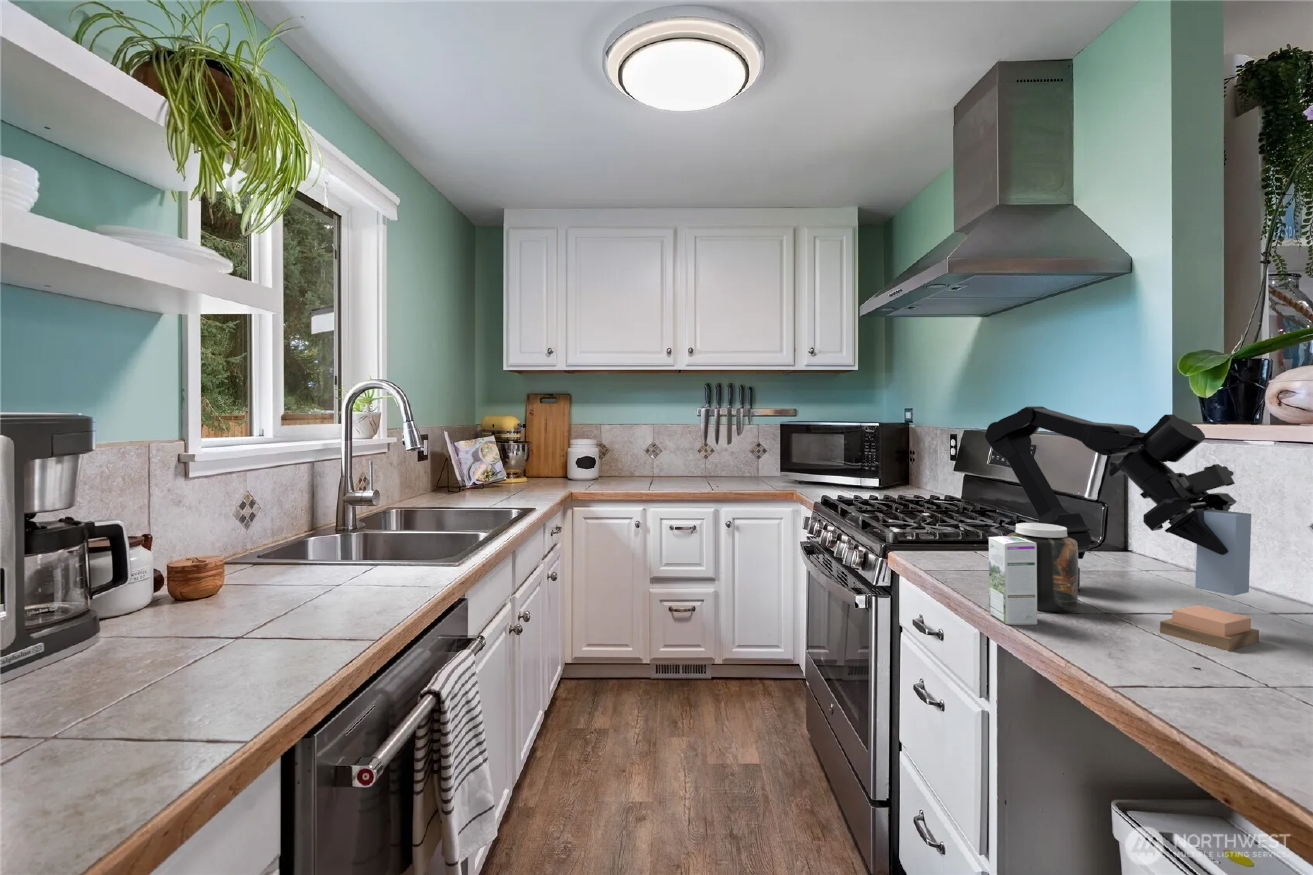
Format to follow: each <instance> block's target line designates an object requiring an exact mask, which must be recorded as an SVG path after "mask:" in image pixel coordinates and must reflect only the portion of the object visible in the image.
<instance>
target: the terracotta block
mask: <svg viewBox="0 0 1313 875" xmlns="http://www.w3.org/2000/svg"><path fill="white" fill-rule="evenodd" d="M1171 613H1172V616H1171V619H1172V622H1174V623H1178V624H1181V625H1185V626H1189V627H1192V628H1196V629H1199V630H1203V631H1207V632H1210V633H1214V634H1218V635H1221V636H1228V635H1233V634H1237V633H1241V632H1245V631H1249V630H1251V628H1252V617H1249V616H1244V615H1241V614H1237V613H1233V612H1229V611H1224V610H1221V609H1217V608H1213V607H1208V606H1204V605H1201V604H1197V605H1196V604H1195V605H1189V606H1187V607H1181V608H1177V609H1172V612H1171Z"/></svg>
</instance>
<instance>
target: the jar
mask: <svg viewBox="0 0 1313 875" xmlns="http://www.w3.org/2000/svg"><path fill="white" fill-rule="evenodd" d="M1006 536H1015V537H1020V538H1023V539H1026V540H1029V541H1032V542H1035V543H1036V544H1037V611H1040V612H1046V613H1048V612H1049V613H1070V612H1071V613H1072V612H1075V611H1078V607H1079V592H1078V588H1079V587H1078V567H1079V559H1078V545H1077V542H1076V540H1074V539H1072V538H1070V537H1067V536H1068V535H1067V528H1066V527H1063V526H1058V525H1052V524H1043V523H1039V522H1020V523H1016V524H1015V531H1014V532H1011V533H1008V534H1007V535H1006Z"/></svg>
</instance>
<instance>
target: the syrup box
mask: <svg viewBox="0 0 1313 875" xmlns="http://www.w3.org/2000/svg"><path fill="white" fill-rule="evenodd" d="M988 598H989V599H988V600H989V601H988V602H989V603H988V609H989V610H988V612H989V614H988V615H990V616H991V617H993V618H994V619H997V620H998V621H1000V622H1001V623H1003V624H1005V625H1013V626H1018V625H1019V626H1025V625H1026V626H1029V625H1030V626H1032V625H1038V610H1037V544H1036V543H1035V542H1032V541H1029V540H1026V539H1023V538H1020V537H1015V536H1007V535H1001V536H989V537H988Z"/></svg>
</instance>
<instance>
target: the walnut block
mask: <svg viewBox="0 0 1313 875" xmlns="http://www.w3.org/2000/svg"><path fill="white" fill-rule="evenodd" d="M1159 625H1160V626H1159V633H1160V634H1162V635H1166V636H1171V637H1174V638H1179V639H1182V640H1185V641H1188V642H1193V643H1196V644H1200V643H1201V644H1200V645H1203V644H1204V646H1207V645H1208V646H1207V647H1211V648H1214V647H1216V648H1215V649H1218V650H1222V651H1225V650H1227V651H1226V652H1232V651H1234V650H1238V649H1240V647H1242V648H1244V647H1248V646H1251V645H1254V644H1258V643H1259V642H1260V629H1256V628H1253V627H1251V630H1249V631H1245V632H1241V633H1237V634H1233V635H1228V636H1221V635H1218V634H1214V633H1210V632H1207V631H1203V630H1199V629H1196V628H1192V627H1189V626H1185V625H1181V624H1178V623H1174V622H1172V618H1167V619H1165V620H1164V619H1163V620H1161V621H1159ZM1237 648H1238V649H1237ZM1231 650H1232V651H1231Z"/></svg>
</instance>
